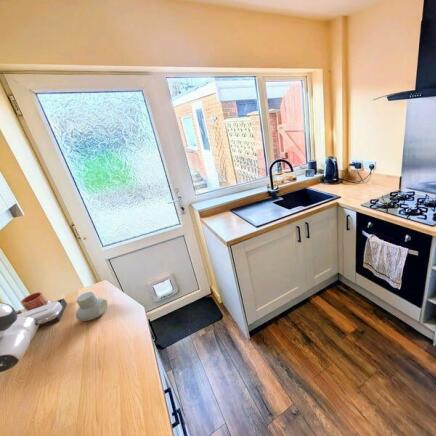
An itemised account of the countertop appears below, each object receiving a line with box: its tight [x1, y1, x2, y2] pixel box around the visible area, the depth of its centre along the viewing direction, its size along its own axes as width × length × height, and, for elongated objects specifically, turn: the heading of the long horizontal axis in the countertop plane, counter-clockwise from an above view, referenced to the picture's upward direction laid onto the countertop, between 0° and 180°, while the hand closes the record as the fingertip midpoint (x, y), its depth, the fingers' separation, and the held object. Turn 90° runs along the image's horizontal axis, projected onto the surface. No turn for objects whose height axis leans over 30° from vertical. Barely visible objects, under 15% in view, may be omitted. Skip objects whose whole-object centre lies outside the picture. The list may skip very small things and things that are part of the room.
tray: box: [37, 298, 68, 330], centre depth 105 cm, size 12×12×3 cm
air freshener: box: [75, 291, 108, 322], centre depth 102 cm, size 11×8×10 cm
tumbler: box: [20, 291, 48, 312], centre depth 103 cm, size 6×6×11 cm
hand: (33, 306), depth 101 cm, fingers open, 8 cm apart
